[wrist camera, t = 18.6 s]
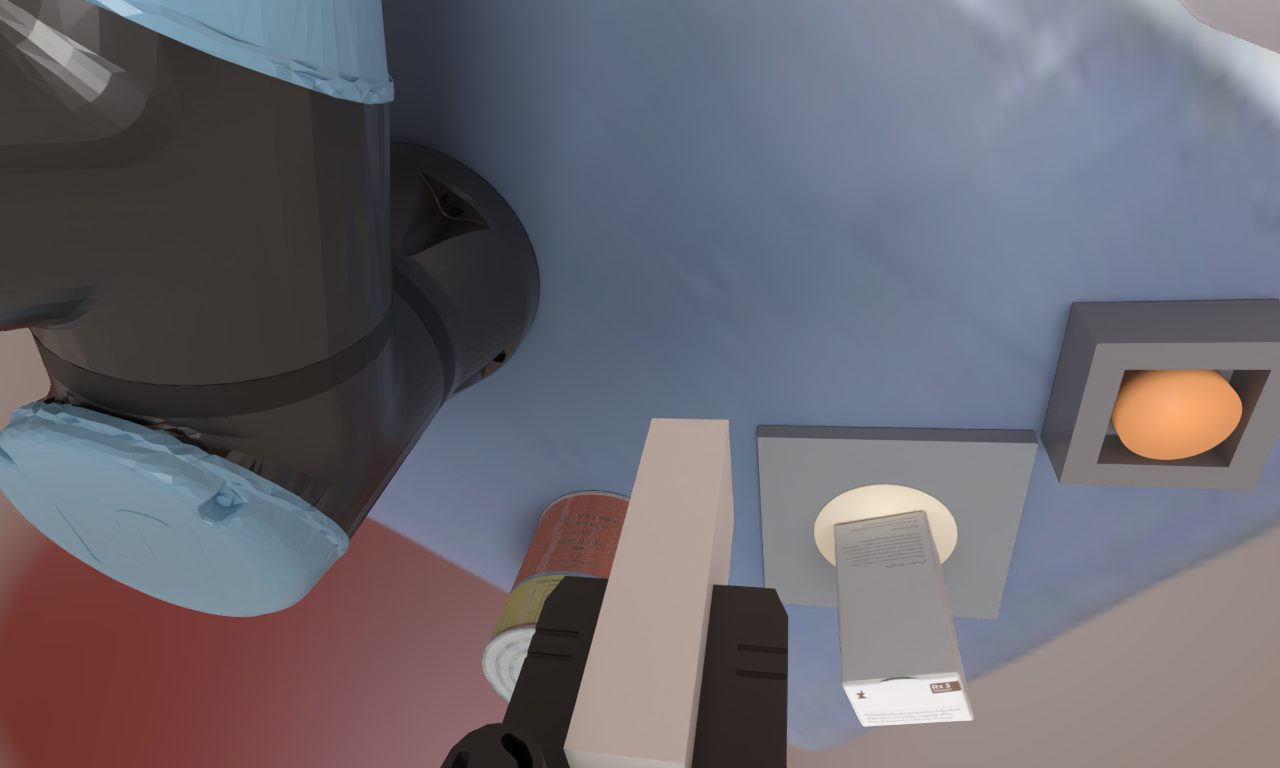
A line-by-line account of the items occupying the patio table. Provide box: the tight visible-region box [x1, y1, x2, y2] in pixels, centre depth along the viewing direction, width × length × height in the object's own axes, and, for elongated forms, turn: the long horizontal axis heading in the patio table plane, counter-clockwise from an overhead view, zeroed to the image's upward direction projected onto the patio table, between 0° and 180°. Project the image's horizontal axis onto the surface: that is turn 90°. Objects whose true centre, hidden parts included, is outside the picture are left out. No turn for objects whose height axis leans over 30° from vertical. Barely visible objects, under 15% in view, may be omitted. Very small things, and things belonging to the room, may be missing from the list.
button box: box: [1041, 299, 1280, 490], centre depth 37 cm, size 9×9×4 cm
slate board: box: [758, 425, 1038, 620], centre depth 48 cm, size 16×16×1 cm
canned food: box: [482, 491, 630, 703], centre depth 50 cm, size 11×11×12 cm
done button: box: [1110, 370, 1242, 460], centre depth 36 cm, size 5×5×2 cm
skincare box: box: [834, 512, 973, 726], centre depth 42 cm, size 6×4×12 cm
